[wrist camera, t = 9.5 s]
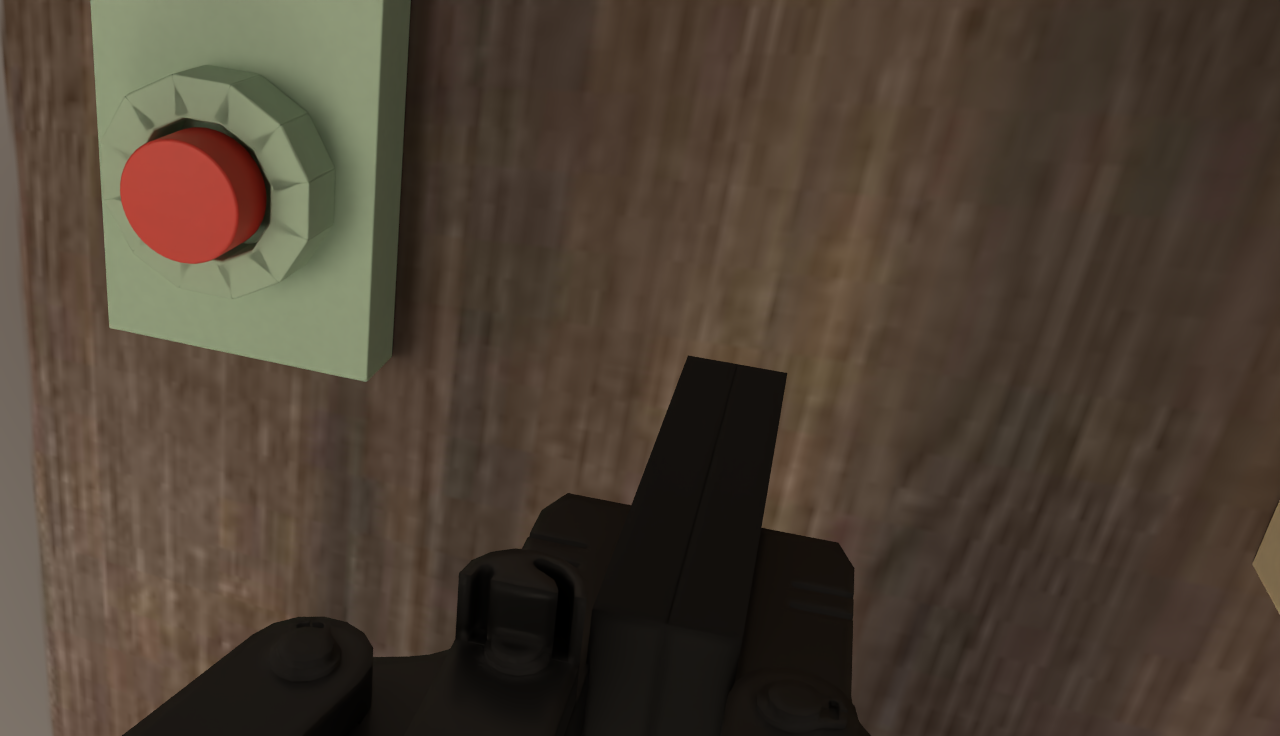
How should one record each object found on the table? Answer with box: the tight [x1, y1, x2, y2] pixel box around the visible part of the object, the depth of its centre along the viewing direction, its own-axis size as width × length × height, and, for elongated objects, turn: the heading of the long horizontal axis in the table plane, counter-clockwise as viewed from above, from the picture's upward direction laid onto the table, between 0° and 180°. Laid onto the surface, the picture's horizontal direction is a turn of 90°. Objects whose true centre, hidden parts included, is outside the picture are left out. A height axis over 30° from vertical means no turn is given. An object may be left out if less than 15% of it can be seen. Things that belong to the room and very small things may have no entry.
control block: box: [90, 0, 411, 382], centre depth 35 cm, size 12×9×4 cm
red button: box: [120, 127, 267, 264], centre depth 33 cm, size 4×4×2 cm
